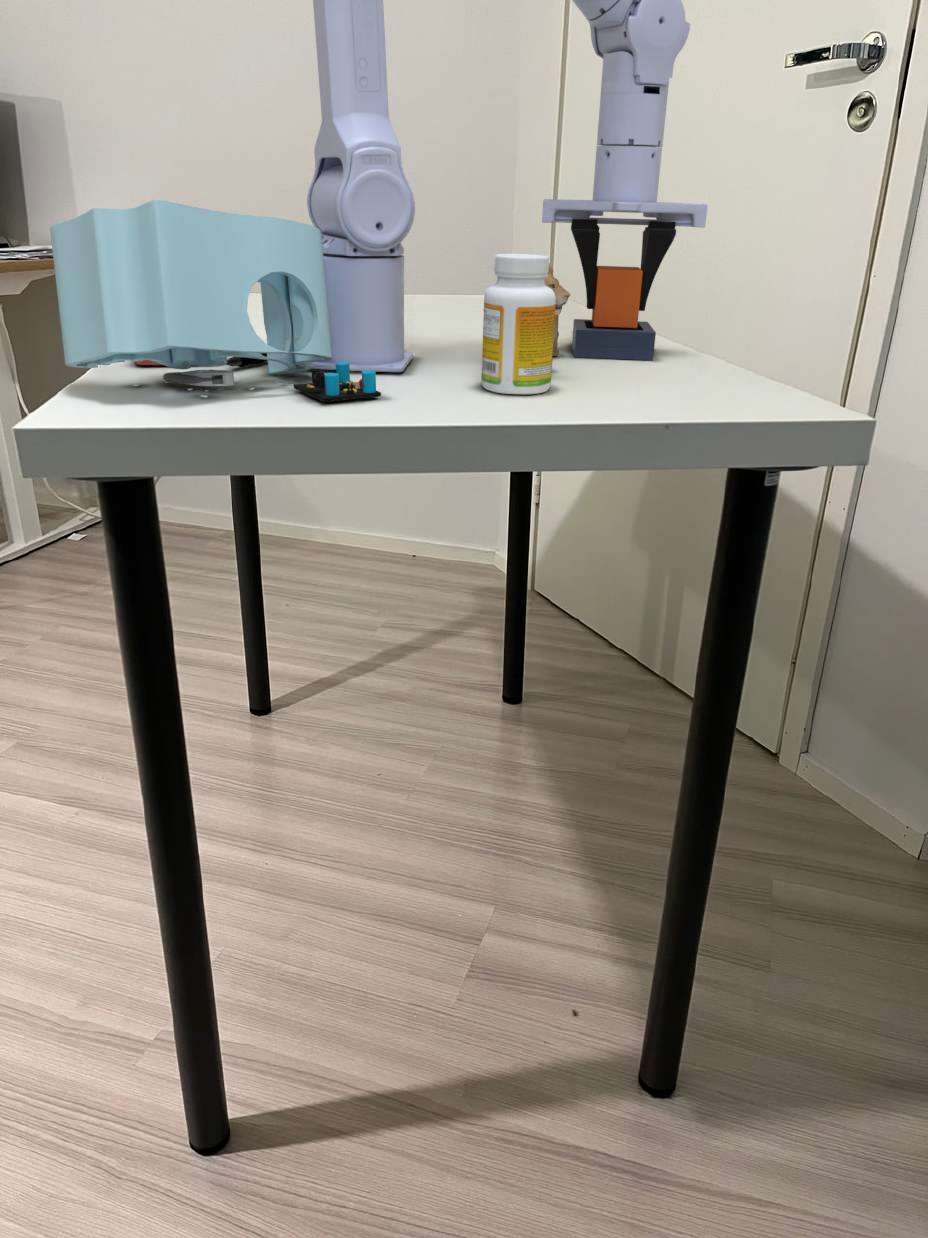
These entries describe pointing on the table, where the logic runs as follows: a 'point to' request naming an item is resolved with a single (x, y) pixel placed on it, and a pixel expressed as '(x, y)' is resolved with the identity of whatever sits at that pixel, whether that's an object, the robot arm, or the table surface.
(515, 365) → the supplement bottle
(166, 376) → the grey piece
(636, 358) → the blue square tray
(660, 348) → the table surface
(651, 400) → the table surface
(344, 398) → the circuit board
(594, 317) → the orange rectangular block
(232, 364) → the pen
